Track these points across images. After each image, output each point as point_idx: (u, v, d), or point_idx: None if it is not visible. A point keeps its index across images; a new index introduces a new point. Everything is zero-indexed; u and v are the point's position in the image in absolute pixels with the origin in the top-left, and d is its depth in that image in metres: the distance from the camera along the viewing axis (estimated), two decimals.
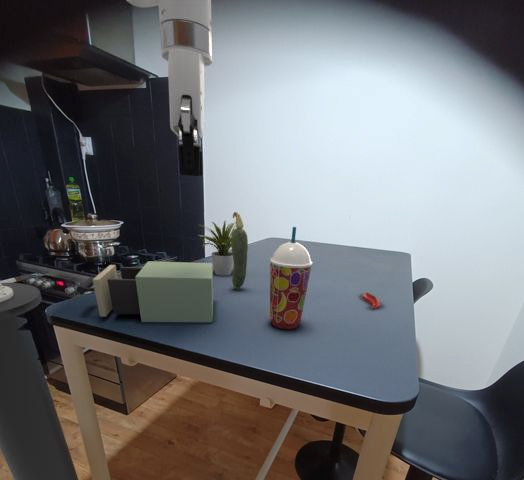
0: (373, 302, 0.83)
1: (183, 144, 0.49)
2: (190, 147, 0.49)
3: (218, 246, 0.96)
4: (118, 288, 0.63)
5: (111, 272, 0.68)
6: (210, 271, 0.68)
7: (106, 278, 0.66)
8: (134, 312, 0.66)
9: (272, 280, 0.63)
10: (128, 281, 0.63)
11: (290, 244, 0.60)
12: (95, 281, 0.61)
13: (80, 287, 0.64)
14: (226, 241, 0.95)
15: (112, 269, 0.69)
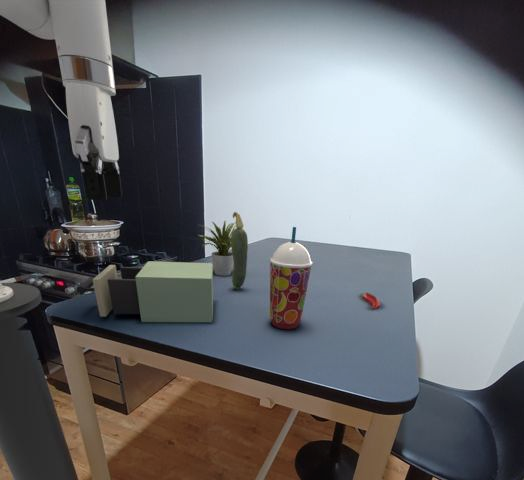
0: (373, 302, 0.83)
1: (85, 171, 0.51)
2: (93, 174, 0.51)
3: (218, 246, 0.96)
4: (118, 288, 0.63)
5: (111, 272, 0.68)
6: (210, 271, 0.68)
7: (106, 278, 0.66)
8: (134, 312, 0.66)
9: (272, 280, 0.63)
10: (128, 281, 0.63)
11: (290, 244, 0.60)
12: (95, 281, 0.61)
13: (80, 287, 0.64)
14: (226, 241, 0.95)
15: (112, 269, 0.69)
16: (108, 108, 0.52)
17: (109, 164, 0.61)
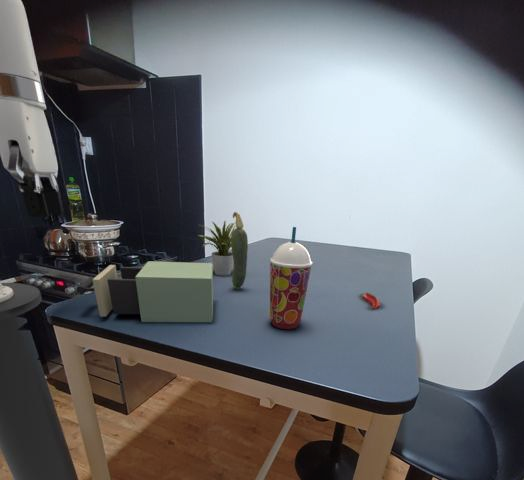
0: (373, 302, 0.83)
1: (24, 191, 0.54)
2: (32, 193, 0.55)
3: (218, 246, 0.96)
4: (118, 288, 0.63)
5: (111, 272, 0.68)
6: (210, 271, 0.68)
7: (106, 278, 0.66)
8: (134, 312, 0.66)
9: (272, 280, 0.63)
10: (128, 281, 0.63)
11: (290, 244, 0.60)
12: (95, 281, 0.61)
13: (80, 287, 0.64)
14: (226, 241, 0.95)
15: (112, 269, 0.69)
16: (39, 122, 0.53)
17: (47, 182, 0.60)
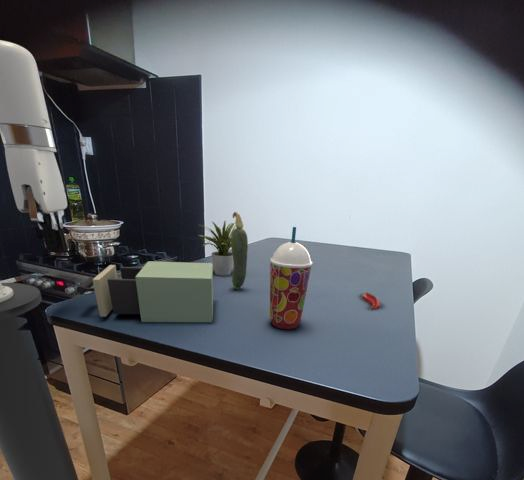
0: (373, 302, 0.83)
1: (43, 229, 0.60)
2: (50, 231, 0.60)
3: (218, 246, 0.96)
4: (118, 288, 0.63)
5: (111, 272, 0.68)
6: (210, 271, 0.68)
7: (106, 278, 0.66)
8: (134, 312, 0.66)
9: (272, 280, 0.63)
10: (128, 281, 0.63)
11: (290, 244, 0.60)
12: (95, 281, 0.61)
13: (80, 287, 0.64)
14: (226, 241, 0.95)
15: (112, 269, 0.69)
16: (49, 165, 0.56)
17: None
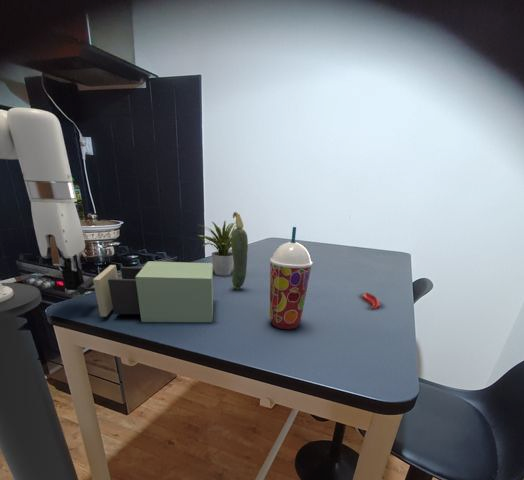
0: (373, 302, 0.83)
1: (64, 271, 0.64)
2: (70, 272, 0.64)
3: (218, 246, 0.96)
4: (118, 288, 0.63)
5: (111, 272, 0.68)
6: (210, 271, 0.68)
7: (107, 278, 0.66)
8: (134, 312, 0.66)
9: (272, 280, 0.63)
10: (128, 281, 0.63)
11: (290, 244, 0.60)
12: (95, 281, 0.61)
13: (80, 287, 0.64)
14: (226, 241, 0.95)
15: (112, 269, 0.69)
16: (70, 214, 0.60)
17: None
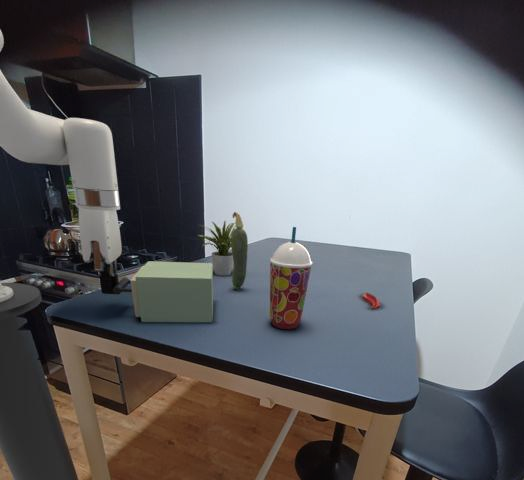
0: (373, 302, 0.83)
1: (102, 275, 0.65)
2: (107, 277, 0.65)
3: (218, 246, 0.96)
4: None
5: None
6: (210, 271, 0.68)
7: None
8: None
9: (272, 280, 0.63)
10: None
11: (290, 244, 0.60)
12: (133, 282, 0.62)
13: (117, 288, 0.65)
14: (226, 241, 0.95)
15: None
16: (113, 221, 0.62)
17: (108, 265, 0.67)
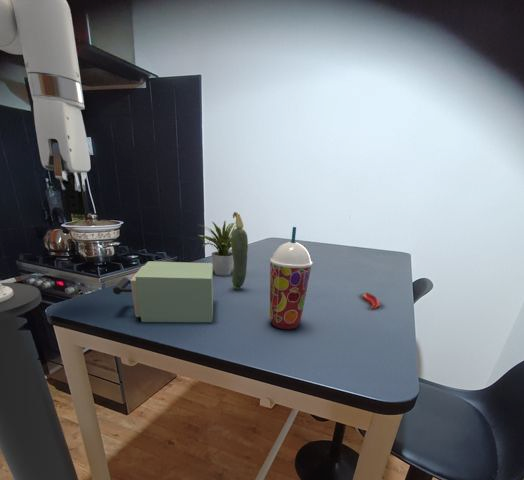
0: (373, 302, 0.83)
1: (66, 189, 0.58)
2: (73, 192, 0.58)
3: (218, 246, 0.96)
4: None
5: None
6: (210, 271, 0.68)
7: None
8: None
9: (272, 280, 0.63)
10: None
11: (290, 244, 0.60)
12: (133, 282, 0.62)
13: (117, 288, 0.65)
14: (226, 241, 0.95)
15: None
16: (77, 122, 0.54)
17: None
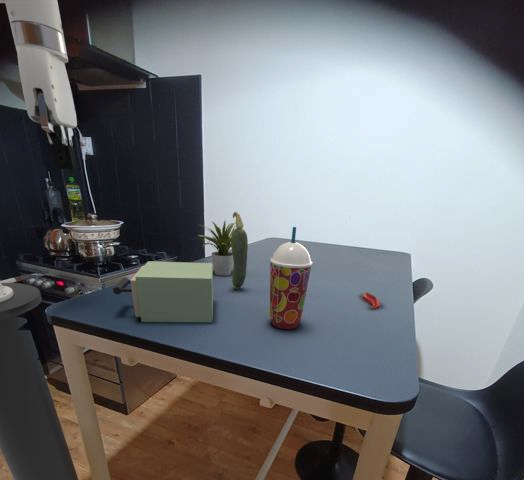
0: (373, 302, 0.83)
1: (53, 143, 0.59)
2: (60, 145, 0.60)
3: (218, 246, 0.96)
4: None
5: None
6: (210, 271, 0.68)
7: None
8: None
9: (272, 280, 0.63)
10: None
11: (290, 244, 0.60)
12: (133, 282, 0.62)
13: (117, 288, 0.65)
14: (226, 241, 0.95)
15: None
16: (61, 73, 0.56)
17: None
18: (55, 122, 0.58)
